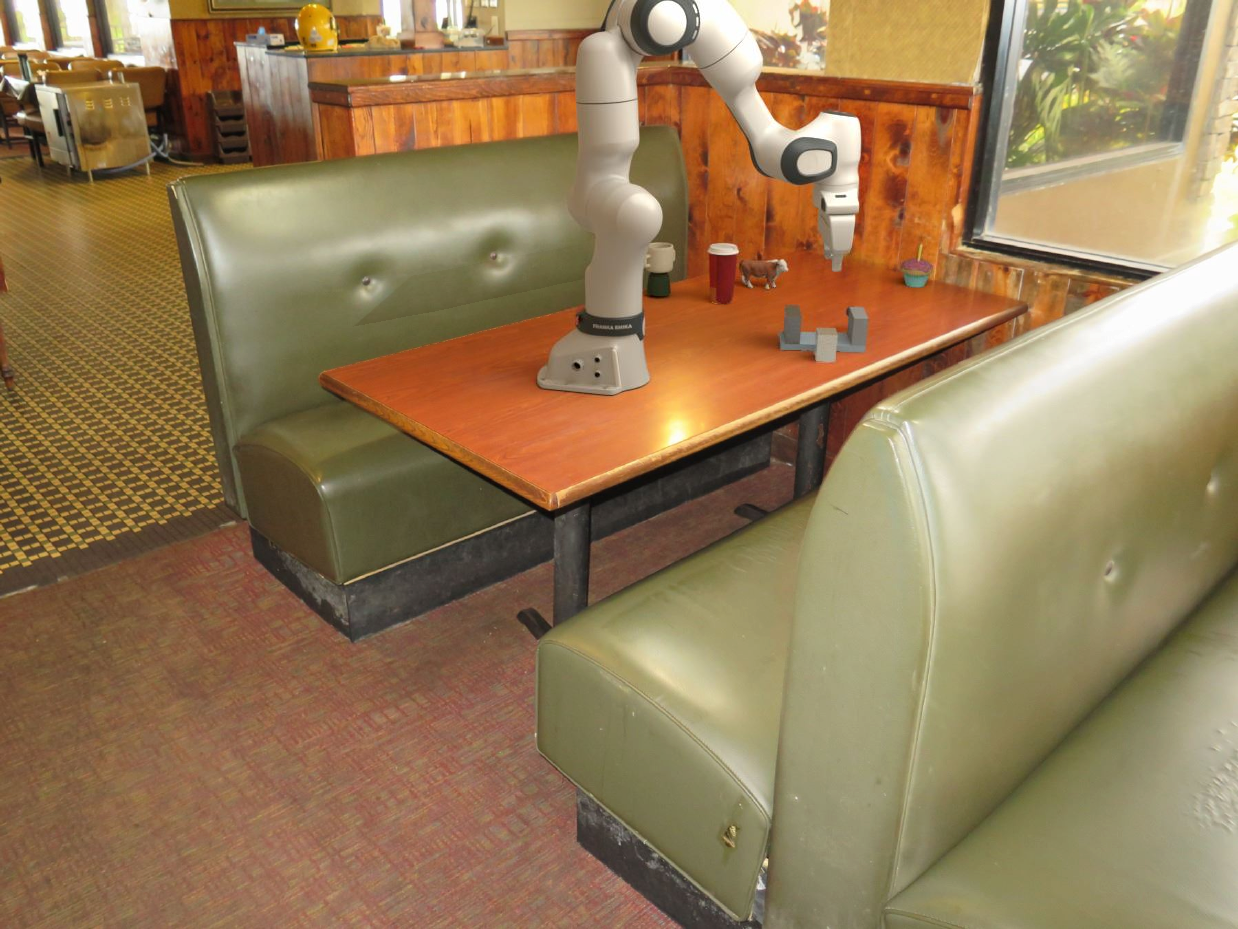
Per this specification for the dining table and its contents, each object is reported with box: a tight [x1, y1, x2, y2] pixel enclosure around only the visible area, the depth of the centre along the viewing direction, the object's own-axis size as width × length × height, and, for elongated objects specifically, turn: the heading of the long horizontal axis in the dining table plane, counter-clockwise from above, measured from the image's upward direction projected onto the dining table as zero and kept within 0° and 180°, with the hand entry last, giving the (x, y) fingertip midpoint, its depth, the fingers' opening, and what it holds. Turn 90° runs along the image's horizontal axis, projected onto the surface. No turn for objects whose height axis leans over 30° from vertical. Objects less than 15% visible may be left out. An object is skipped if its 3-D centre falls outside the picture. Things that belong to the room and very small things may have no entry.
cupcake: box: [899, 241, 934, 288], centre depth 263 cm, size 9×8×12 cm
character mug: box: [644, 241, 676, 298], centre depth 254 cm, size 11×7×13 cm, turn 131°
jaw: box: [783, 304, 803, 344], centre depth 218 cm, size 3×9×6 cm, turn 174°
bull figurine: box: [738, 258, 789, 290], centre depth 262 cm, size 4×13×8 cm, turn 65°
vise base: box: [778, 305, 869, 354], centre depth 222 cm, size 18×17×8 cm
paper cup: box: [707, 242, 740, 305], centre depth 249 cm, size 8×8×14 cm
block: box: [813, 327, 838, 363], centre depth 210 cm, size 4×5×6 cm
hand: (832, 264), depth 205 cm, fingers open, 8 cm apart
